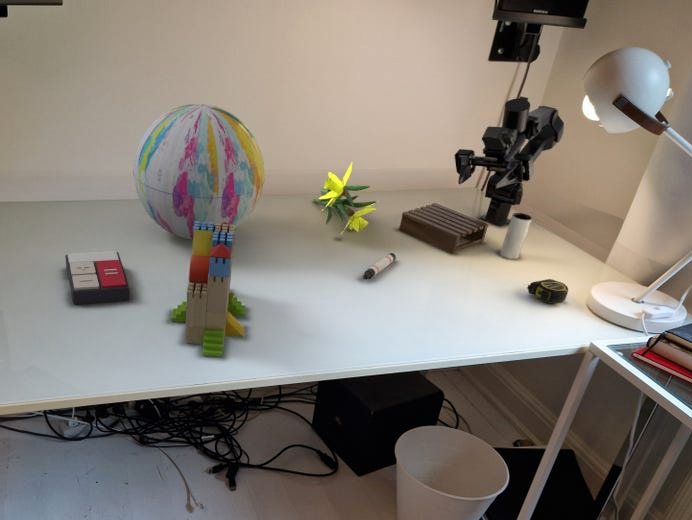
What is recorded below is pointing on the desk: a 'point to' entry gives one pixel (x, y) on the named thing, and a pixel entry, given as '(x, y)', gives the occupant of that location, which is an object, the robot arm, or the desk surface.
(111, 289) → the calculator
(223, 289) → the block set
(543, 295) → the tape measure
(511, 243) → the grey hollow cylinder
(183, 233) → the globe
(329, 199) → the daffodil flowers
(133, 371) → the desk surface
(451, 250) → the rack
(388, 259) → the marker
